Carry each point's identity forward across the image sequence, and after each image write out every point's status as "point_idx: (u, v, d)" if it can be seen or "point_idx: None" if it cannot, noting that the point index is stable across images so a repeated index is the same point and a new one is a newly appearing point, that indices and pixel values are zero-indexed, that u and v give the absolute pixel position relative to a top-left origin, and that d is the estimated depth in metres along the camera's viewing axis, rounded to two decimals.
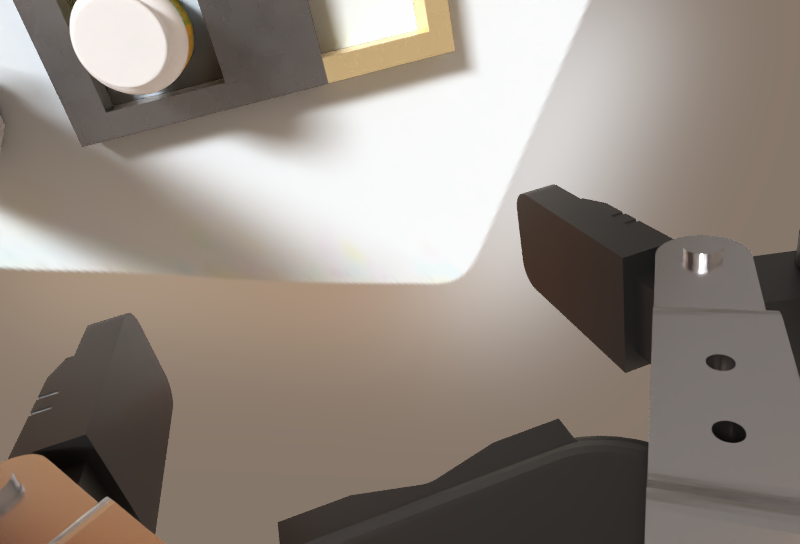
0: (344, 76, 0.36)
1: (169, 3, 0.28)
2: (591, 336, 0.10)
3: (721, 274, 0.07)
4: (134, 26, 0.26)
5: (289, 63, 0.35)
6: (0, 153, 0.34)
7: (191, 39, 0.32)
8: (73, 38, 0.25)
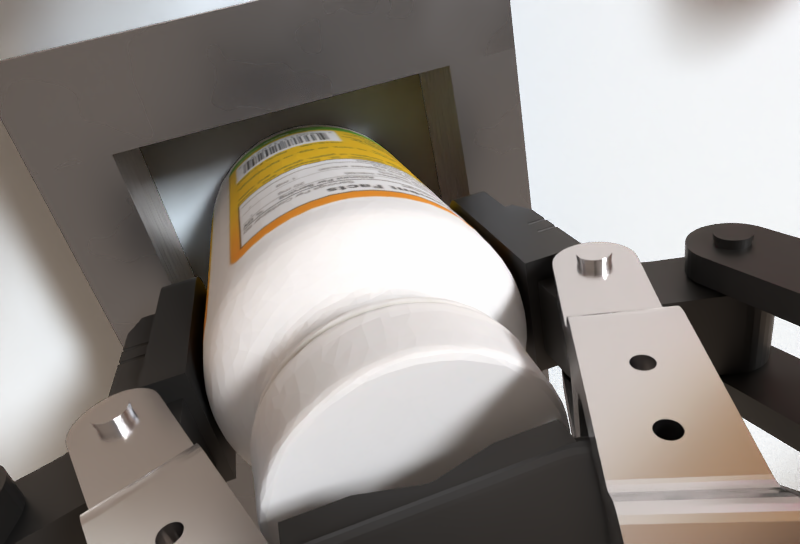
0: None
1: None
2: None
3: (605, 279, 0.08)
4: None
5: None
6: None
7: None
8: (445, 355, 0.06)
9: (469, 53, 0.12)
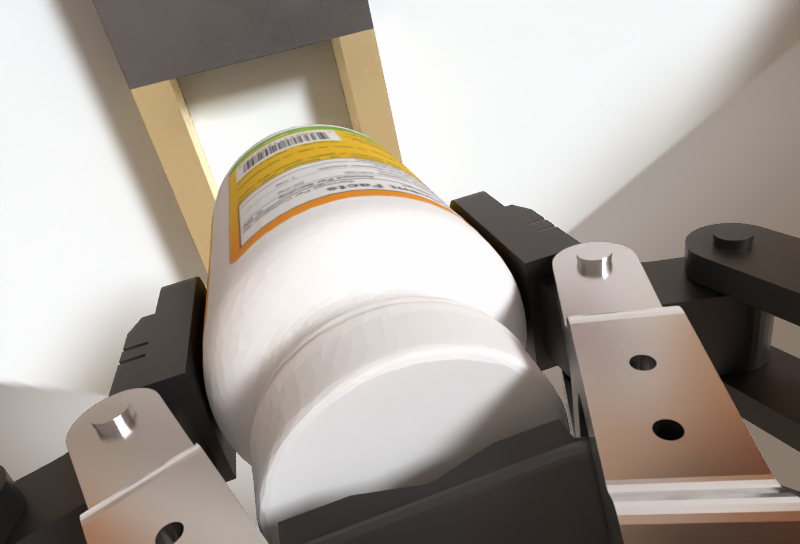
0: (145, 116, 0.23)
1: None
2: None
3: (605, 279, 0.08)
4: None
5: (152, 24, 0.22)
6: None
7: None
8: (445, 355, 0.06)
9: None
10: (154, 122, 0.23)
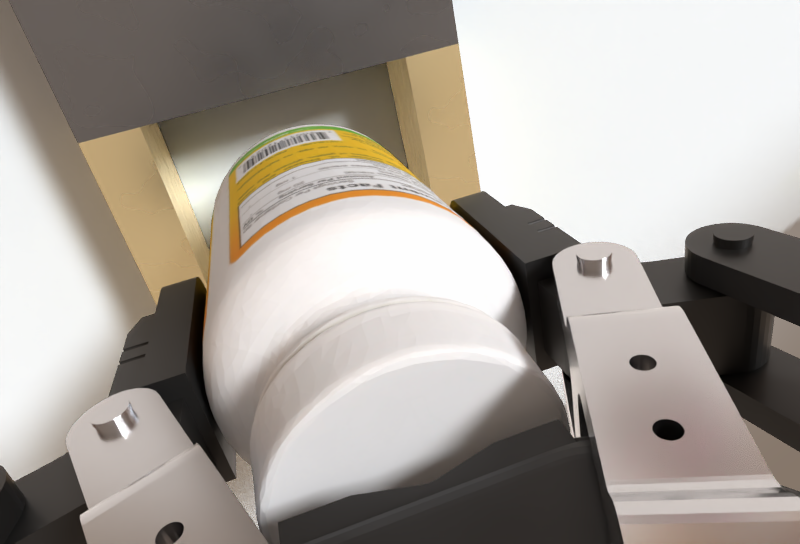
0: (104, 182, 0.14)
1: None
2: None
3: (605, 279, 0.08)
4: None
5: (111, 39, 0.13)
6: None
7: None
8: (445, 355, 0.06)
9: None
10: (118, 192, 0.15)
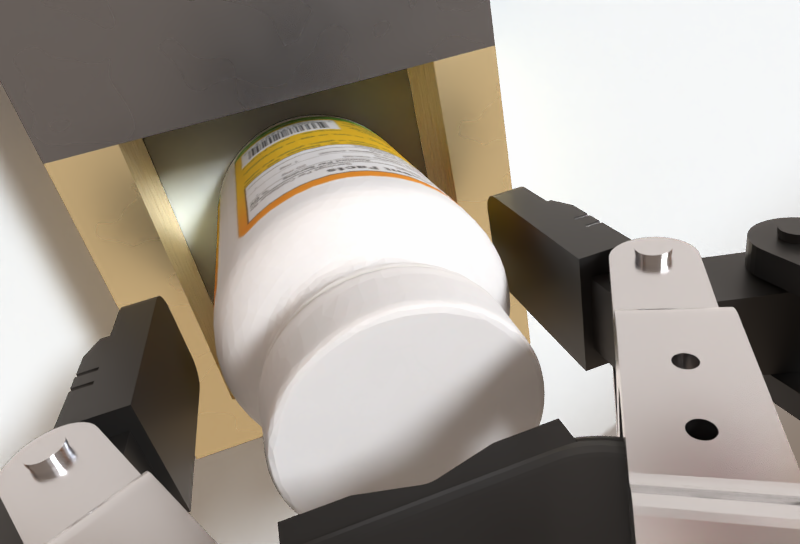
0: (76, 210, 0.12)
1: None
2: (556, 335, 0.11)
3: (668, 275, 0.08)
4: (458, 464, 0.08)
5: (82, 40, 0.11)
6: None
7: None
8: (431, 309, 0.07)
9: None
10: (93, 220, 0.12)
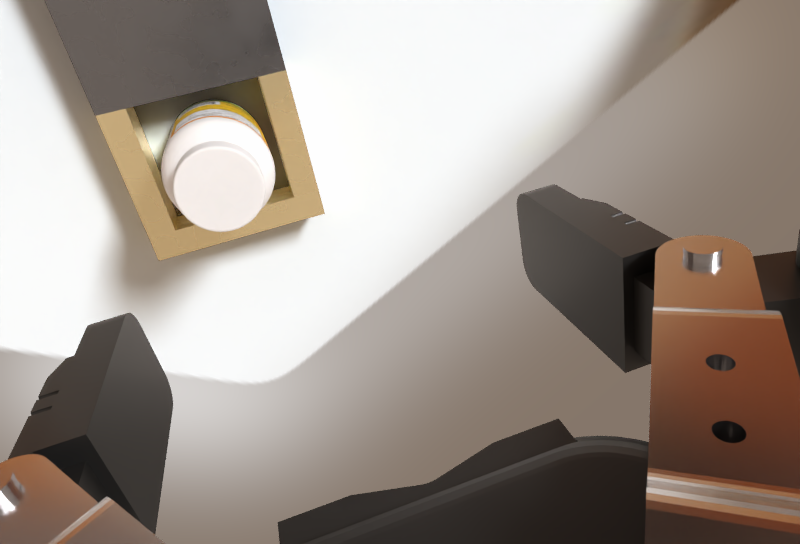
0: (107, 135, 0.30)
1: None
2: (591, 337, 0.10)
3: (720, 274, 0.07)
4: (237, 205, 0.26)
5: (112, 67, 0.29)
6: None
7: None
8: (219, 148, 0.25)
9: None
10: (114, 140, 0.30)
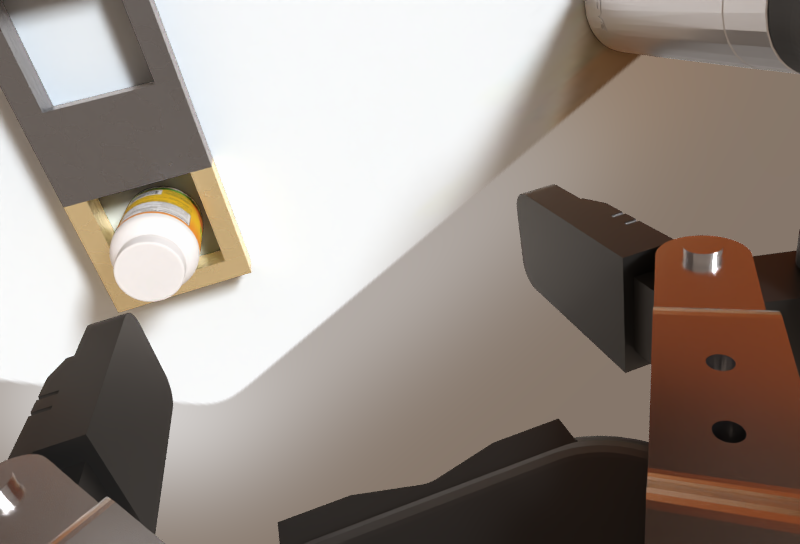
0: (73, 221, 0.39)
1: (186, 281, 0.38)
2: (591, 336, 0.10)
3: (721, 274, 0.07)
4: (163, 282, 0.35)
5: (75, 172, 0.37)
6: None
7: None
8: (147, 243, 0.34)
9: None
10: (79, 224, 0.39)
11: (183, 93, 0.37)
